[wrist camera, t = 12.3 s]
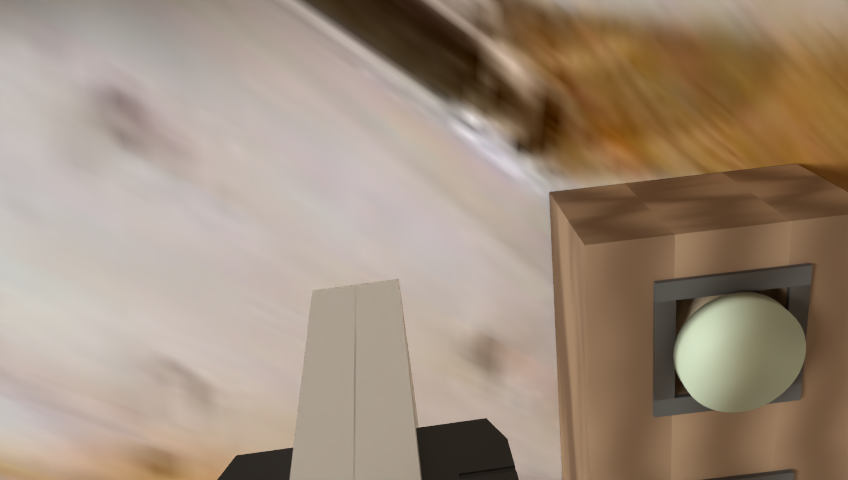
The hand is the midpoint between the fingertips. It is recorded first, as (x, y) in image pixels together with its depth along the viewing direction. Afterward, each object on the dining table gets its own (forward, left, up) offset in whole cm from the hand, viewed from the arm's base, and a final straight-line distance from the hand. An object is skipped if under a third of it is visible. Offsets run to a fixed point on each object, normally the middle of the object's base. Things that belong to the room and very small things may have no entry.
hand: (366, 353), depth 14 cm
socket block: (+16, -20, -29) cm, 38 cm away
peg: (+16, -14, -27) cm, 34 cm away
